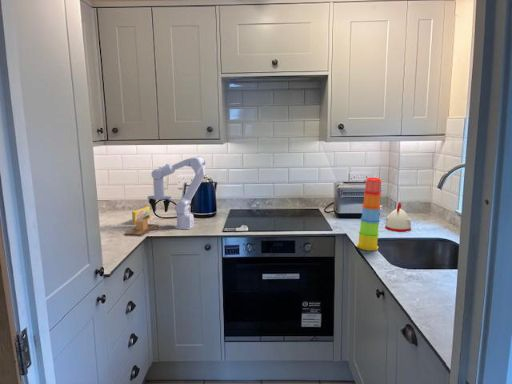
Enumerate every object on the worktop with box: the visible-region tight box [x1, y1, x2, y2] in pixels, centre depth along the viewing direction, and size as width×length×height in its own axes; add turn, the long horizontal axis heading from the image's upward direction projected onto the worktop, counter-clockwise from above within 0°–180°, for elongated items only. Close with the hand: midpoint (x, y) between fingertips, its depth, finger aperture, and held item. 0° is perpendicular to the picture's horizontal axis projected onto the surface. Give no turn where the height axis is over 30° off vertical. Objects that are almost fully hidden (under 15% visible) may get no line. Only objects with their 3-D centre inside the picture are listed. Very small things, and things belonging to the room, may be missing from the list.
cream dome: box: [384, 202, 412, 233], centre depth 216 cm, size 14×14×15 cm
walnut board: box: [124, 223, 159, 237], centre depth 218 cm, size 10×20×1 cm, turn 167°
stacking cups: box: [356, 177, 382, 252], centre depth 182 cm, size 10×10×35 cm
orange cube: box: [134, 219, 149, 230], centre depth 217 cm, size 5×5×5 cm
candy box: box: [131, 206, 151, 226], centre depth 238 cm, size 16×2×8 cm, turn 161°
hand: (160, 211), depth 224 cm, fingers open, 7 cm apart
